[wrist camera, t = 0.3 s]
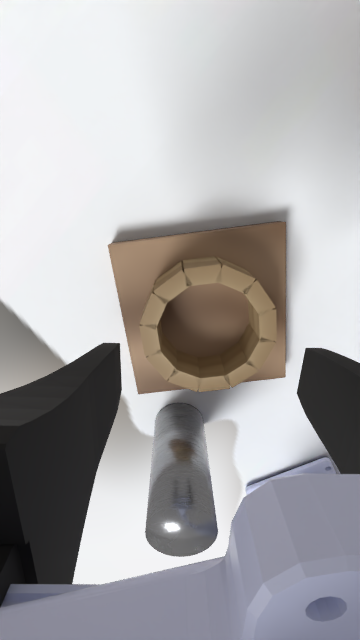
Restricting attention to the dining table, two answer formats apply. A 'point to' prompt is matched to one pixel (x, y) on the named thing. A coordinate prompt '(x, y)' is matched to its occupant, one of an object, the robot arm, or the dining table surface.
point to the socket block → (204, 306)
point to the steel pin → (180, 485)
